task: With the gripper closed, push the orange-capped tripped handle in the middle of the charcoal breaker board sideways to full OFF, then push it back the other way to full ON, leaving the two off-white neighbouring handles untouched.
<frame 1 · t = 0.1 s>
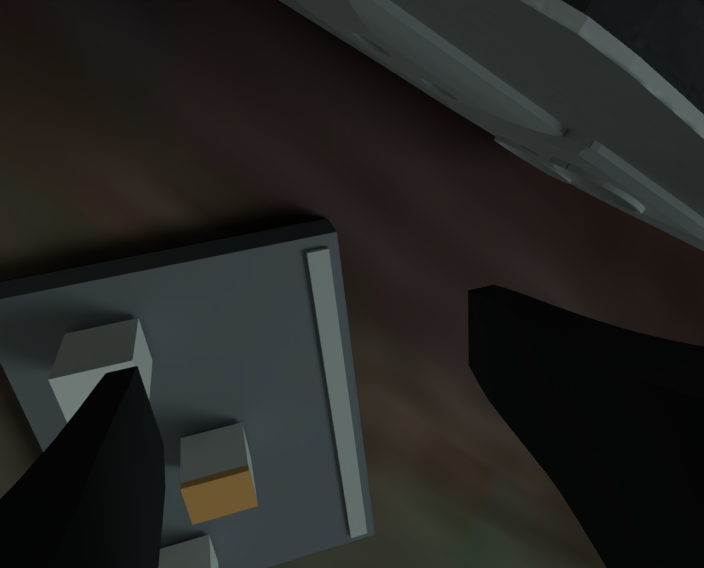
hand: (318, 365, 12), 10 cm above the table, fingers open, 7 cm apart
breaker 1: (105, 369, 18), point 3 cm above the table, slide at 2.5 cm
tripped breaker: (218, 471, 21), point 3 cm above the table, slide at 0.0 cm
breaker board: (214, 420, 24), on the table
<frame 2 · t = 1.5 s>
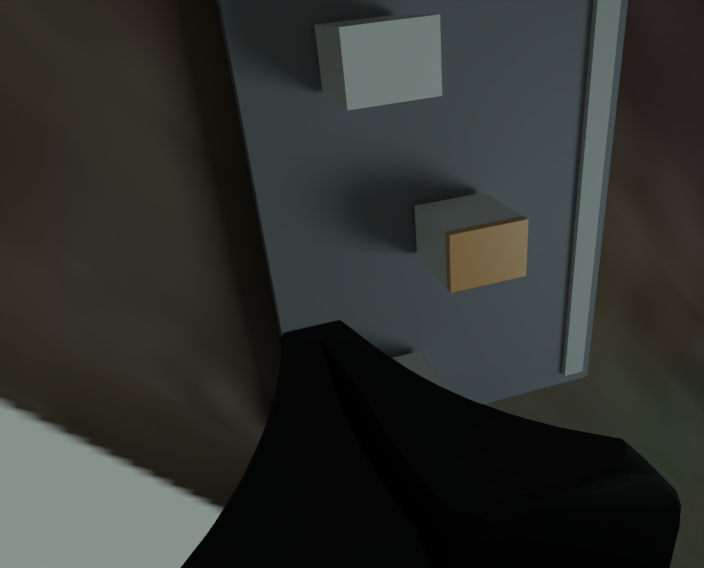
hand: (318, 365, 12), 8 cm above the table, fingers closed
breaker 1: (375, 58, 14), point 3 cm above the table, slide at 2.5 cm
breaker 2: (402, 401, 19), point 3 cm above the table, slide at 2.5 cm
tripped breaker: (468, 239, 17), point 3 cm above the table, slide at 0.0 cm
breaker board: (430, 209, 20), on the table
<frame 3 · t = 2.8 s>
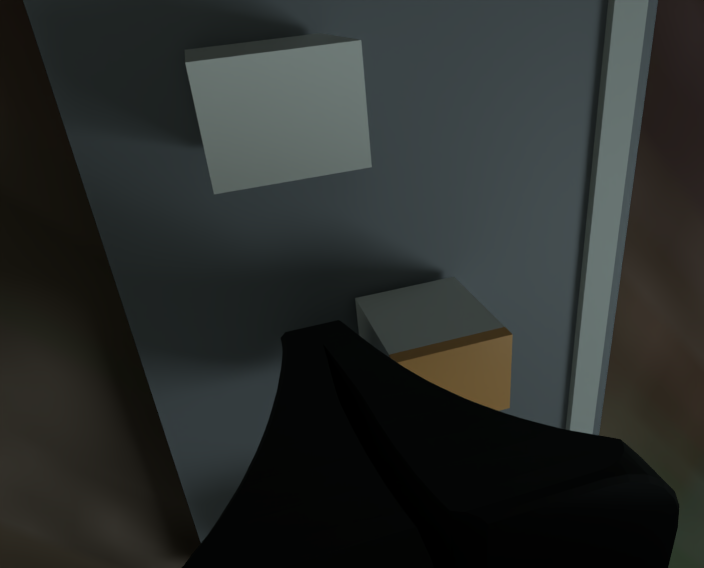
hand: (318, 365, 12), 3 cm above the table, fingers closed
breaker 1: (272, 105, 9), point 3 cm above the table, slide at 2.5 cm
tripped breaker: (428, 350, 12), point 3 cm above the table, slide at 0.0 cm, touching gripper
breaker board: (384, 289, 15), on the table
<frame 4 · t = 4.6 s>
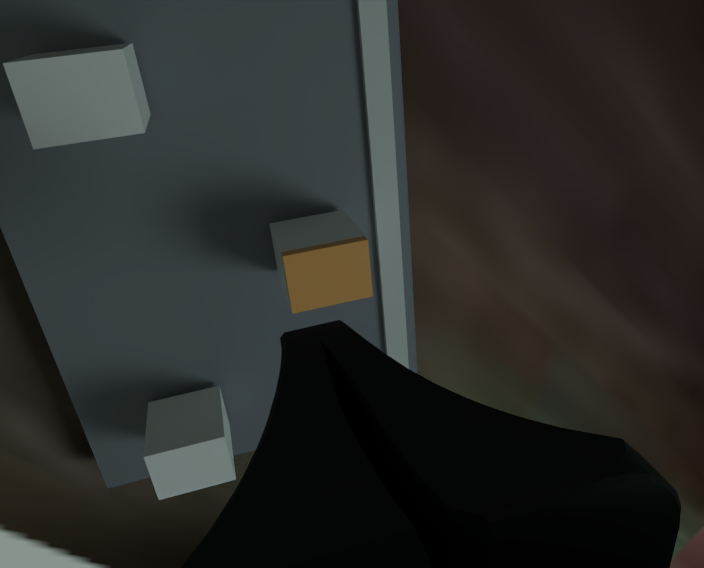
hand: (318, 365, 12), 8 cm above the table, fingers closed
breaker 1: (86, 92, 14), point 3 cm above the table, slide at 2.5 cm
breaker 2: (190, 439, 19), point 3 cm above the table, slide at 2.5 cm
tripped breaker: (319, 258, 17), point 3 cm above the table, slide at -2.6 cm
breaker board: (227, 238, 19), on the table
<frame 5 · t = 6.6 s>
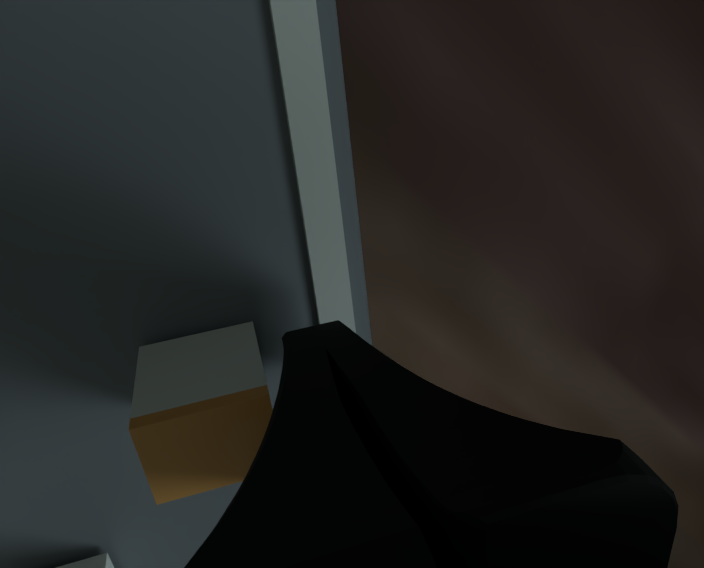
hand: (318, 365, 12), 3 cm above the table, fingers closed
tripped breaker: (208, 405, 11), point 3 cm above the table, slide at -2.1 cm, touching gripper
breaker board: (113, 350, 14), on the table
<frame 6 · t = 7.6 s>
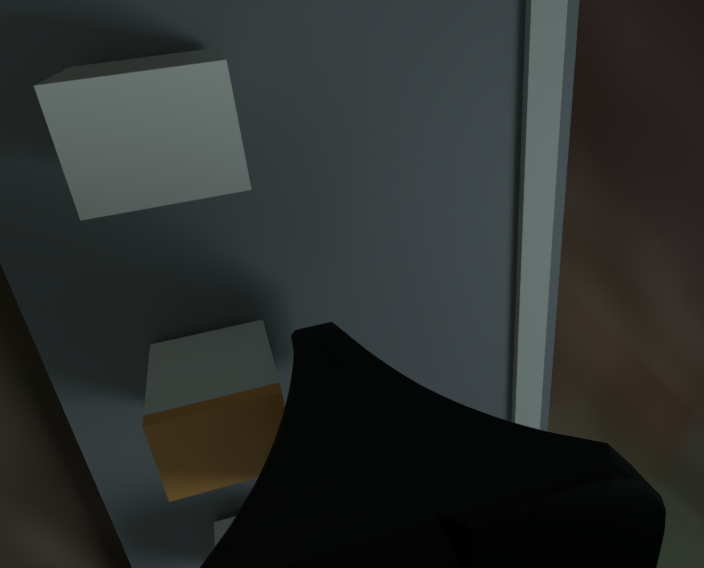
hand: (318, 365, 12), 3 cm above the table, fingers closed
breaker 1: (155, 124, 9), point 3 cm above the table, slide at 2.5 cm
tripped breaker: (220, 402, 11), point 3 cm above the table, slide at 2.6 cm, touching gripper
breaker board: (316, 305, 14), on the table
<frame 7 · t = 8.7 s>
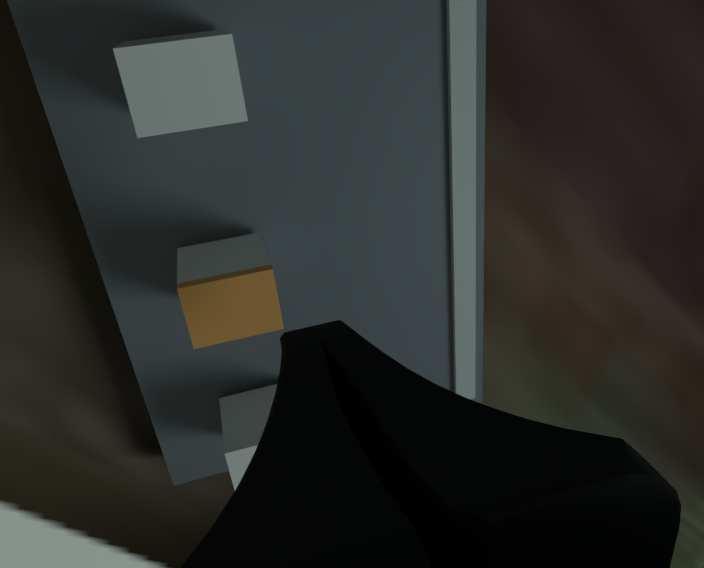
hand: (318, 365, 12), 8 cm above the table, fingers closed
breaker 1: (183, 79, 13), point 3 cm above the table, slide at 2.5 cm
breaker 2: (264, 435, 18), point 3 cm above the table, slide at 2.5 cm
tripped breaker: (228, 287, 16), point 3 cm above the table, slide at 2.6 cm
breaker board: (298, 231, 19), on the table
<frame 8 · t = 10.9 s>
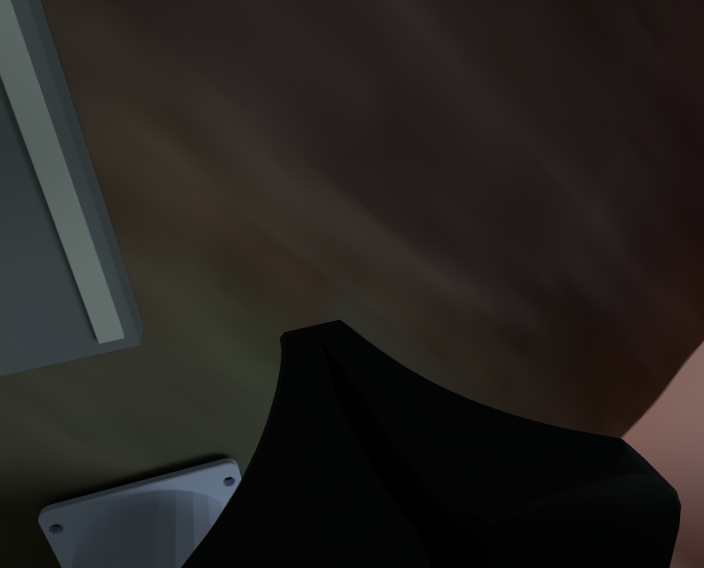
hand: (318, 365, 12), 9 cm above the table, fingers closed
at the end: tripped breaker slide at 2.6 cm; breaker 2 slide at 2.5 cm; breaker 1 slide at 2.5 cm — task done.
